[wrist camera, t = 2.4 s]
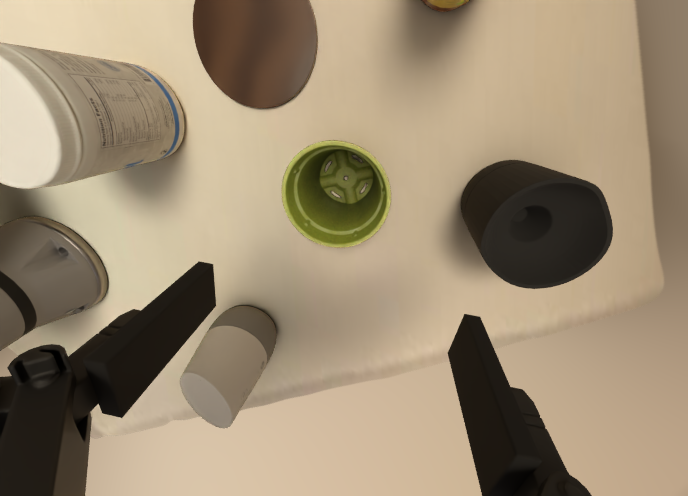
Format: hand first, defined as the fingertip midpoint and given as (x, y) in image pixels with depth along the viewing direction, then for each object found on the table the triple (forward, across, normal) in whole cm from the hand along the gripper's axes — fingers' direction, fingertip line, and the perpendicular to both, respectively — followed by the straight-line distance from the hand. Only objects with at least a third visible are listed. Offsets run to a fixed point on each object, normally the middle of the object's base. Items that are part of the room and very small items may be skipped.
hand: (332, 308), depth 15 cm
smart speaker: (+21, -13, -23) cm, 33 cm away
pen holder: (+21, +15, +2) cm, 26 cm away
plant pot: (+21, -2, +2) cm, 21 cm away
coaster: (+20, -13, +13) cm, 28 cm away
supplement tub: (+21, -25, +5) cm, 33 cm away
